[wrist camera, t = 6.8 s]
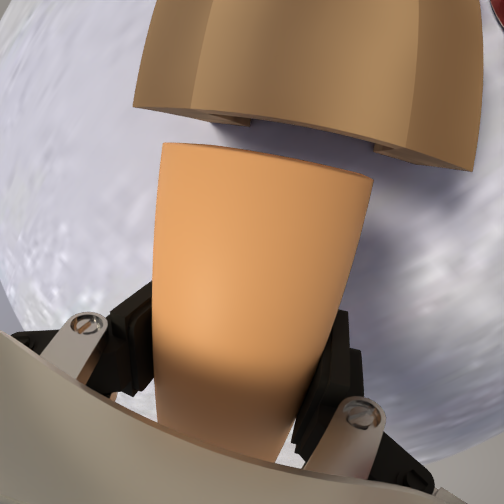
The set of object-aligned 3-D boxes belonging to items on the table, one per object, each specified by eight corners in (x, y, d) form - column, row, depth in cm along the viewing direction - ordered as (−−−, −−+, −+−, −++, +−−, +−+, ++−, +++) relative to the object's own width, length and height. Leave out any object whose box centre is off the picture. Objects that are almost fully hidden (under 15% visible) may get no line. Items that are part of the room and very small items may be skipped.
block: (430, 26, 11) (473, -34, 4) (414, 164, 14) (472, 171, 7) (234, -5, 13) (182, -68, 6) (209, 122, 16) (132, 107, 10)
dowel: (212, 144, 10) (116, 141, 5) (361, 173, 9) (394, 190, 4) (187, 398, 14) (141, 469, 9) (282, 428, 13) (257, 512, 8)
